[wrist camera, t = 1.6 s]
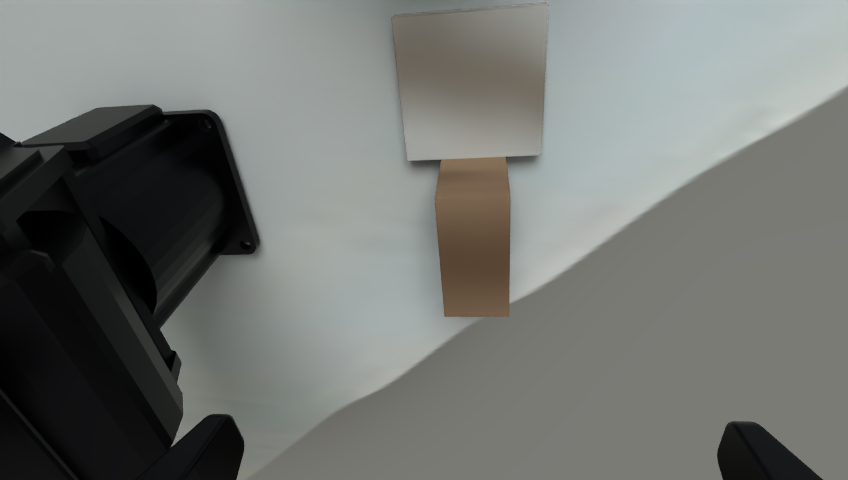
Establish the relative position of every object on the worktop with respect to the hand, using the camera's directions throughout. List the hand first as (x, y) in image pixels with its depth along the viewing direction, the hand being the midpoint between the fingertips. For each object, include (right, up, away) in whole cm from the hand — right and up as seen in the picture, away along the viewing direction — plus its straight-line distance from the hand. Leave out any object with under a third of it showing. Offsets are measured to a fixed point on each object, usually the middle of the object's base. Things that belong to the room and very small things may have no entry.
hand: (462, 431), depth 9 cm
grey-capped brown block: (+1, +7, +10) cm, 12 cm away
